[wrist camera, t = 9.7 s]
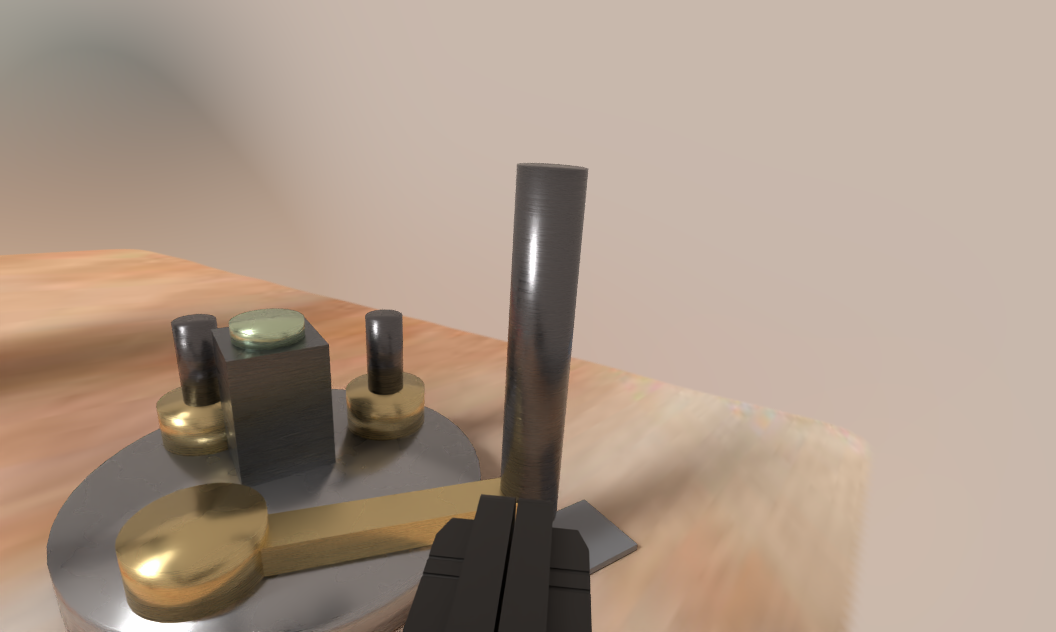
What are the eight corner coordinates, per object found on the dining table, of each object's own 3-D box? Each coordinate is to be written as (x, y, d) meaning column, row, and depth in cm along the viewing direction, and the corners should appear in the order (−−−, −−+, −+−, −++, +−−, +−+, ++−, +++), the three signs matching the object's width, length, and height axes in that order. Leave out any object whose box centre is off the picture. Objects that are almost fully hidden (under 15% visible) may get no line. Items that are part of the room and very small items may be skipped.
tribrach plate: (68, 472, 28) (26, 302, 25) (395, 395, 37) (393, 266, 34) (40, 804, 15) (-54, 532, 12) (552, 557, 24) (569, 371, 21)
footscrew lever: (107, 638, 17) (-12, 155, 12) (145, 538, 21) (66, 143, 16) (575, 541, 22) (614, 174, 17) (536, 476, 26) (560, 162, 21)
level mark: (523, 530, 26) (524, 525, 26) (583, 504, 28) (584, 499, 28) (574, 582, 23) (574, 576, 23) (636, 549, 25) (637, 544, 25)
